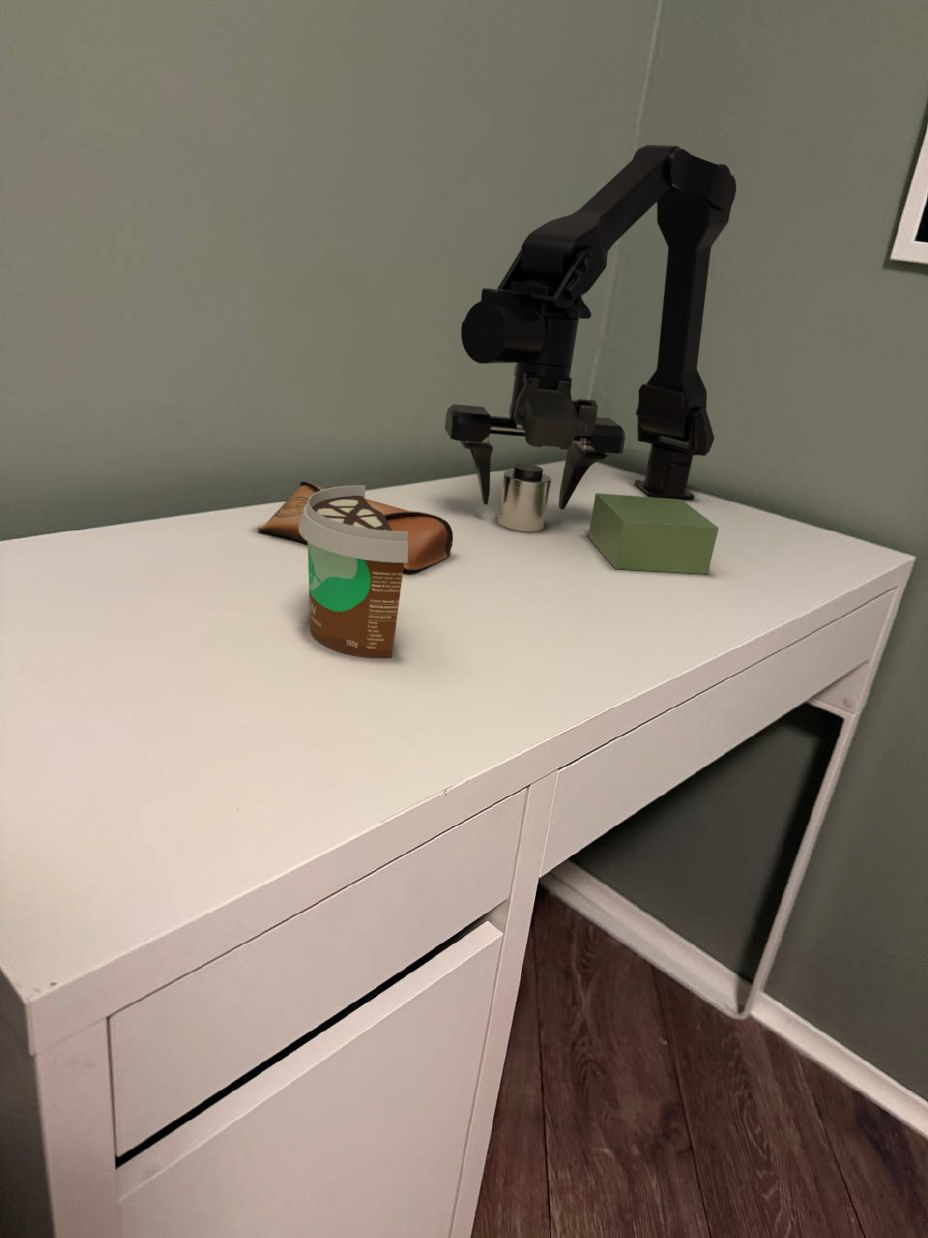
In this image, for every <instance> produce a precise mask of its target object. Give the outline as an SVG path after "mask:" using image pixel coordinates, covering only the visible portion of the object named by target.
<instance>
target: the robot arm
mask: <svg viewBox="0 0 928 1238" xmlns="http://www.w3.org/2000/svg"><path fill="white" fill-rule="evenodd" d="M736 193H737V182H736V178H735V176H734V175H733V174H731V171H730V168H729V167H728V165H726V164H723V163H714V162H711V161H709V160H706V159H704V158H701V157H698V156H695V155H693V154H691V153H690V152H689V151H687V150H686V149H685V148H681V147H680V145H669V144H667V145H666V144H665V145H664V144H645V145H644V146H641V147H640V148H638V149H637V150H636V151H635V152H634V155H633V157H632V159H631V161H629V162H628V163H627V164H626V165H625V166H624V167H623V168H622V169H621V170H619V171H618V173H616V174H615V176H613V177H612V178H611V179H610V180H609V181H608V182H606V184H605V185H603V186H602V188H600V189H599V191H598V192H596V193H595V194H594V195H593V196H591V198H590V199H588V201H587V202H585V204H584V205H582V206H581V207H580V208H579V209H578V210H576V211H574V212H573V213H571V214H568V215H564V216H562V217H558V218H555V219H551V220H549V221H547V222H546V223H544V224H542V225H541V226H539V227H538V228H536V229H534V230H533V231H531V232H530V233H529V234H528V235H527V237H526V238H525V239H524V241H523V243H522V244H521V248H520V250H519V252H518V254H516V257H515V259H514V260H513V262H512V263H511V265H510V267H509V268H508V270H507V272H506V273H505V275H504V277H503V278H502V280H501V281H500V283H499V285H498V287H497V288H496V289H495V288H489V287H488V288H487V287H483V288H482V289H481V295H480V296H481V297H480V301H478V302H476V303H475V304H473V305H472V306H471V308H470V309H468V311H467V312H466V315H465V317H464V320H462V322H461V327H460V338H461V343H462V347H463V349H464V351H465V353H466V355H467V356H468V358H470V359H471V360H472V361H474V362H475V363H477V364H483V365H485V364H516V365H514V372H513V376H514V380H513V388H512V396H511V402H510V404H509V408H508V409H509V410H508V414H509V416H495V415H491V413H489V412H488V411H487V409H485V407H484V406H479V405H466V404H454V403H453V404H451V405H450V406H449V407H448V408H447V410H446V413H445V422H444V430H445V432H446V433H447V436H448V437H449V438H450V439H451V440H453V441H457V442H460V443H461V445H462V447H463V448H464V449H467V450H469V451H470V454H471V457H472V459H473V463H474V466H475V471H476V476H477V480H478V485H479V490H480V495H481V500H482V503H483V505H488V504H489V499H490V493H491V460H492V459H491V458H492V455H493V451H494V446H493V445H492V444H491V442H490V441H489V438H490V435H500V436H511V437H512V436H514V437H522V438H523V437H524V440H525V442H526V443H527V445H529V446H531V447H534V448H542V447H553V448H559V449H560V450H566V455H565V461H564V467H563V472H562V477H561V482H560V488H559V493H558V509H559V510H561V511H564V510H565V509H566V507H567V505H568V503H569V501H570V500H571V498H572V496H573V495H574V492H575V491H576V489H577V487H578V485H579V483H580V482H581V480H582V478H583V477H584V475H585V474H586V472H587V471H588V470H589V469H590V467H592V466H593V465H594V464H595V463H597V462H598V461H605V460H607V458H608V456H609V455H608V454H616V455H618V454H619V455H620V454H624V453H623V452H624V446H625V442H626V434H625V433H626V432H625V430H624V428H623V427H622V426H621V425H620V424H618V423H617V422H615V421H614V420H612V419H611V418H609V417H603V416H602V417H601V416H598V409H599V406H598V404H597V401H596V400H594V399H583V398H578V399H577V400H574V399H572V386H573V385H572V382H573V378H572V377H571V373H572V372H571V371H572V365H573V359H574V354H575V353H574V352H575V348H576V340H577V334H578V328H579V322H580V320H589V319H591V317H592V311H591V310H590V308H589V307H588V306H587V304H586V303H585V302H584V300H583V296H584V295H585V294H587V293H588V292H589V291H590V290H591V289H592V287H593V286H594V285H595V284H596V282H597V281H598V279H599V278H600V277H601V276H602V274H603V272H604V271H605V270H606V268H607V267H608V254H609V251H610V249H611V248H612V247H613V245H615V243H617V242H618V241H619V240H620V239H621V238H622V237H623V236H624V235H625V233H627V232H628V231H629V230H630V229H631V228H632V227H633V226H634V225H635V224H636V223H637V222H638V221H639V220H640V219H641V218H642V217H643V216H644V215H645V214H646V213H647V212H648V211H649V210H651V208H653V206H654V205H655V204H656V223H657V225H658V228H659V230H660V232H661V234H662V237H663V239H664V242H665V244H666V246H667V258H666V266H665V267H666V268H665V279H664V289H663V301H662V309H661V310H662V311H661V321H660V331H659V341H658V353H657V363H656V370H655V371H654V372H653V373H652V375H651V376H650V377H649V379H648V381H647V382H646V383H642V384H641V385H640V387H639V388H638V403H637V408H636V412H635V415H636V417H637V420H636V421H637V442H640V443H646V444H650V450H649V455H648V458H647V459H648V460H647V463H646V469H645V473H644V475H645V476H644V479H643V480H642V479H641V480H639V479H635V480H634V485H635V486H637V487H638V488H639V489H640V490H641V491H642V492H644V493H645V494H646V495H647V496H648V497H655V498H669V499H682V500H683V499H685V500H694V499H695V497H696V495H695V494H694V493H692V492H691V491H689V490H688V489H687V486H688V483H689V477H690V474H691V473H690V472H691V470H692V469H691V468H692V465H693V460H694V456H699V457H700V456H701V457H706V456H707V454H709V453H710V451H711V448H712V447H713V443H714V441H715V435H714V432H713V427H712V425H711V421H710V418H709V414H708V412H707V403H708V400H707V399H708V391H707V388H706V386H705V383H704V382H703V380H702V378H701V375H700V373H699V371H698V361H699V352H700V345H701V336H702V327H703V319H704V311H705V302H706V293H707V285H708V276H709V270H710V269H709V268H710V259H711V252H712V251H711V250H712V246H713V245H714V244H715V242H716V241H717V239H718V238H719V236H720V235H721V233H722V232H723V231H724V229H725V228H726V226H727V225H728V224H729V219H730V216H731V210H732V205H733V203H734V201H735V199H736ZM519 426H520V427H519Z"/></svg>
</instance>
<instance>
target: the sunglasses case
mask: <svg viewBox="0 0 928 1238" xmlns="http://www.w3.org/2000/svg"><path fill="white" fill-rule="evenodd" d="M325 489H326V488H324V487H323V486H319V485H317V484H315V483H312V482H310V481H301V482H300V484H299V487H298V488H297V489H296V490H295V491H294V492H293V493H292V494H291V495H290V497H289V498H288V499H287V500H286V501H285V502H284V503H283V504H282V505H281V507H279V508H278V510H276V511H275V513H274V514H273V515H272V516H271V517H270V518H269V519H268V521H266V523H265V524H264V525H262V526H258V527H257V530H258V531H262V532H266V533H271V534H276V535H278V536H279V535H280V536H283V537H287V538H290V539H294V540H296V541H299V542H302V543H306V544H308V541H307V540H305V539H304V538H303V537H302V536H301V534H300V532H299V530H298V529H299V524H300V520H301V516H302V513H303V509H304V507H305V505H306V504H307V503H308V499H309V498H310V496H312V495H313V494H314V493H316V492H319V491H321V490H325ZM365 500H366V501H367V502H368V503H369V504H370V505H371V507H373V508H374V509H376V510H378V511H380V512H381V513H382V514H383V515H384V517H385V518H386V520H387V522H388V524H389V526H390V527H391V529H392V530H393V531H408V536H407V541H408V563H404V568H403V570H405V571H415V572H416V571H419V570H424V569H427V568H430V567H432V566H434V565H437V564H438V563H440V562H442V561H444V560H446V559H447V558H449V555H450V553H451V551H452V547H453V543H454V532H453V529H452V526H451V525H450V523H449V522H448V521H447V520H445V519H444V518H442V517H440V516H438V515H435V514H431V513H427V512H422V511H414V510H407V509H403V508H400V507H397V506H394V505H390V504H387V503H384V502H383V503H382V502H378V501H376V500H372V499H368V498H365Z"/></svg>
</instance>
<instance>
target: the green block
mask: <svg viewBox="0 0 928 1238" xmlns="http://www.w3.org/2000/svg"><path fill="white" fill-rule="evenodd" d="M592 506H593V507H592V512H591V517H590V523H589V528H588V534H587V537H588V539H589V540H590V541H591V542H592V544H594V546H595V547H596V548H597V550H599V552H600V553H601V554H602V555H603V556H604V558H605V559H606V560H607V562H608V563H610V565H611V567H613V569H614V570H626V571H629V570H630V571H645V572H663V573H678V574H679V573H681V574H697V575H708V574H709V571H710V567H711V563H712V559H713V554H714V550H715V547H716V546H715V545H716V542H717V537H718V532H719V527H718V526H717V525H716V524H715V523H713V522H712V521H711V520H709V519H708V518H706V516H704V515H703V514H702V513H700V511H699V512H698V510H696V509H695V508H694V507H692V506H691V505H690V504H688V502H686V501H685V500H683V499H682V498H668V497H655V496H638V495H626V494H612V493H600V492H599V493H598V492H596V493H594V501H593V505H592Z"/></svg>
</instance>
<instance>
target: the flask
mask: <svg viewBox="0 0 928 1238" xmlns="http://www.w3.org/2000/svg"><path fill="white" fill-rule="evenodd" d="M551 482H552V478H551V477H550V475H547V474H545V473H544V468H543V467H541V466H538V465H534V464H531V463H517V464H514V466H513V469H509V470H506V471H504V472H503V478H502V486H501V492H500V493H501V494H500V499H499V500H500V501H499V509H498V514H497V515H498V516H497V523H498V524H499V525H500V526H502V528H506V529H509V530H512V531H517V532H526V533H527V532H528V533H529V532H530V533H532V532H539V531H542V530H543V529H544V527H545V522H546V515H547V508H548V502H549V497H550V490H551Z"/></svg>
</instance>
